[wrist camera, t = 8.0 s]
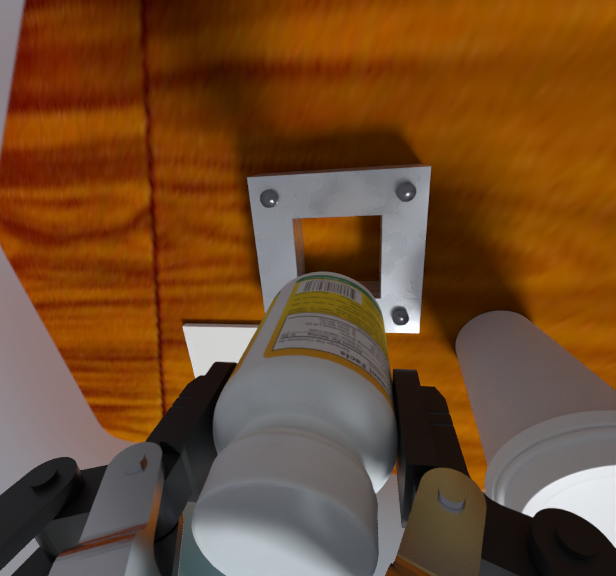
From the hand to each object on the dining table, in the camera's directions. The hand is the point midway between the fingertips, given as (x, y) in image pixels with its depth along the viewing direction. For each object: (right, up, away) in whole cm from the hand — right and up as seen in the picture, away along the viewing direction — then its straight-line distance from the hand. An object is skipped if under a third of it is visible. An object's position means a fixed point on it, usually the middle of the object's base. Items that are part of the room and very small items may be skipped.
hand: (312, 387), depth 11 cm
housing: (+2, +7, +16) cm, 17 cm away
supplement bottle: (+1, +2, +4) cm, 5 cm away
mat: (-8, -4, +22) cm, 24 cm away
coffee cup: (+16, -1, +17) cm, 24 cm away
